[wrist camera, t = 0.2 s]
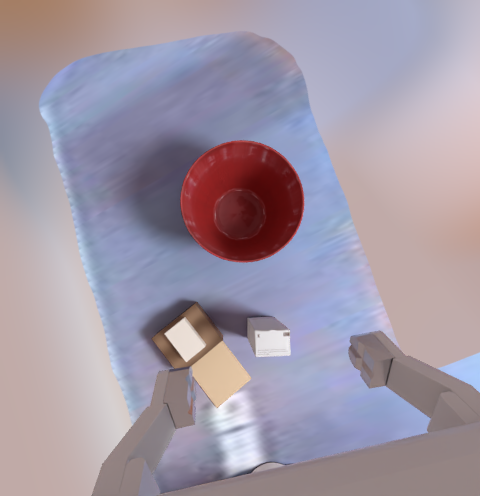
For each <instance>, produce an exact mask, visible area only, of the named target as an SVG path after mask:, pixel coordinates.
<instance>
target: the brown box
mask: <svg viewBox="0 0 480 496" xmlns="http://www.w3.org/2000/svg"><path fill="white" fill-rule="evenodd" d="M184 317H186V319H187V320H188V321H189V323H190V324H191V325H192V326H193V328H194V329H195V330H196V332H197V333H198V334H199V336H200V337H201V338H202V339H203V341H204V342H205V343H206V346H205V347H204V348H203V349H202V350H201V351H200V352H198V353H197V354H196V355H195V356H193V357H192V358H191V359H190V360H189V361H187V362H186V361H185V360H184V359H183V358H182V356H181V355H180V354H179V352H178V351H177V350H176V348H175V347H174V346H173V344H172V343H171V342H170V341H169V339H168V338H167V337H166V335H165V333H166V332H167V331H168V330H169V329H170V328H172V327H173V326H174V325H175V324H177V323H178V322H179V321H180V320H182V319H183V318H184ZM152 340H153V341H154V342H155V344H156V345H157V346H158V348H159V349H160V350H161V352H162V353H163V354H164V356H165V357H166V358H167V359H168V361H169V362H170V363H171V365H172V366H173V367H174V369H176V368H182V367H188V366H192V365H193V364H195V363H196V362H197V361H198V360H199V359H201V358H202V357H203V356H204V355H206V354H207V353H208V352H209V351H210V350H212V349H213V348H214V347H215V346H216V345H218V344H219V343H220V342H221V341H222V340H223V335H222V333H221V332H220V331H219V330H218V328H217V327H216V326H215V324H214V323H213V322H212V321H211V319H210V318H209V317H208V315H207V314H206V313H205V312H204V310H203V309H202V308H201V306H200V305H199V304H198V303H197V302H196V303H195V304H193V305H192V306H191V307H190V308H188V309H187V310H186V311H185V312H183V313H182V314H181V315H180V316H178V317H177V318H176V319H175V320H173V321H172V322H171V323H170V324H168V325H167V326H166V327H165V328H163V329H162V330H161V331H160V332H158V333H157V334H156V335H155V336H154V337H153V338H152Z"/></svg>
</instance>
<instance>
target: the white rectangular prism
mask: <svg viewBox="0 0 480 496" xmlns="http://www.w3.org/2000/svg"><path fill="white" fill-rule="evenodd" d="M165 335H166V337H167V338H168V339H169V341H170V342H171V343H172V344H173V346H174V347H175V348H176V350H177V351H178V352H179V354H180V355H181V356H182V358H183V359H184V360H185V361H186V362H187V361H189V360H190V359H191V358H192V357H193V356H195V355H196V354H197V353H198V352H200V351H201V350H202V349H203V348H204V347H205V346H206V343H205V342H204V341H203V339H202V338H201V337H200V336H199V334H198V333H197V332H196V330H195V329H194V328H193V326H192V325H191V324H190V323H189V321H188V320H187V319H186V317H184V318H183V319H182V320H180V321H179V322H178V323H177V324H175V325H174V326H173V327H172V328H170V329H169V330H168V331H167V332H166V333H165Z"/></svg>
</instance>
